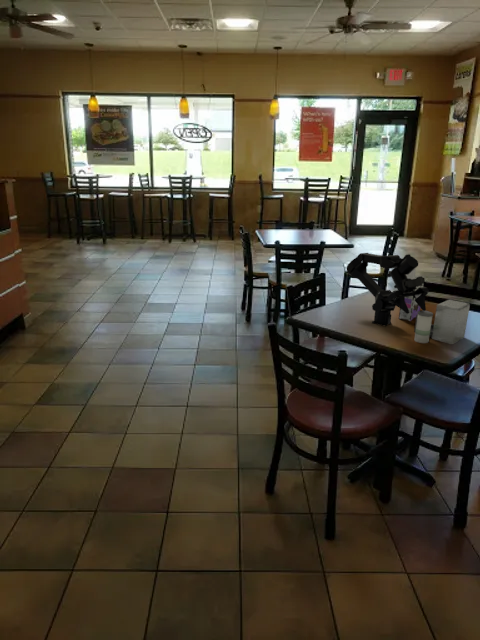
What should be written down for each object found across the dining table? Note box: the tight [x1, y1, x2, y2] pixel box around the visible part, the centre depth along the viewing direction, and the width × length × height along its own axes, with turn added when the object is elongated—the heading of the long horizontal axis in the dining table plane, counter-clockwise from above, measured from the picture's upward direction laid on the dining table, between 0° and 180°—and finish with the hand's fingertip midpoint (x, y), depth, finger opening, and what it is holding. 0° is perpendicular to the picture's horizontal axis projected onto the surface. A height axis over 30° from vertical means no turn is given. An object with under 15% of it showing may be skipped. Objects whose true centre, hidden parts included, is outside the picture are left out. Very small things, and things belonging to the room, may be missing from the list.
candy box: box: [398, 283, 425, 322], centre depth 228 cm, size 14×6×16 cm, turn 143°
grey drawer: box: [413, 314, 434, 338], centre depth 207 cm, size 10×10×8 cm
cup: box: [414, 310, 434, 344], centre depth 197 cm, size 6×6×12 cm
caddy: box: [431, 299, 471, 345], centre depth 200 cm, size 9×12×15 cm
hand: (416, 312), depth 200 cm, fingers open, 9 cm apart
